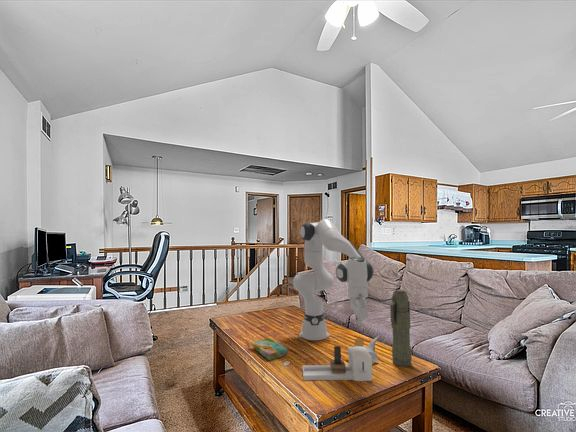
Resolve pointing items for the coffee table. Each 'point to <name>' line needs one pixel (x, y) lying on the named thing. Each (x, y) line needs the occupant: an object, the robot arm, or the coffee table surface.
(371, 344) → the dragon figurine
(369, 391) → the coffee table surface
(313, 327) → the robot arm
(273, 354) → the puzzle game
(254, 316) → the coffee table surface
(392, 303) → the thermos
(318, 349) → the coffee table surface
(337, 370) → the carriage
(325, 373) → the rail base
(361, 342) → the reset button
